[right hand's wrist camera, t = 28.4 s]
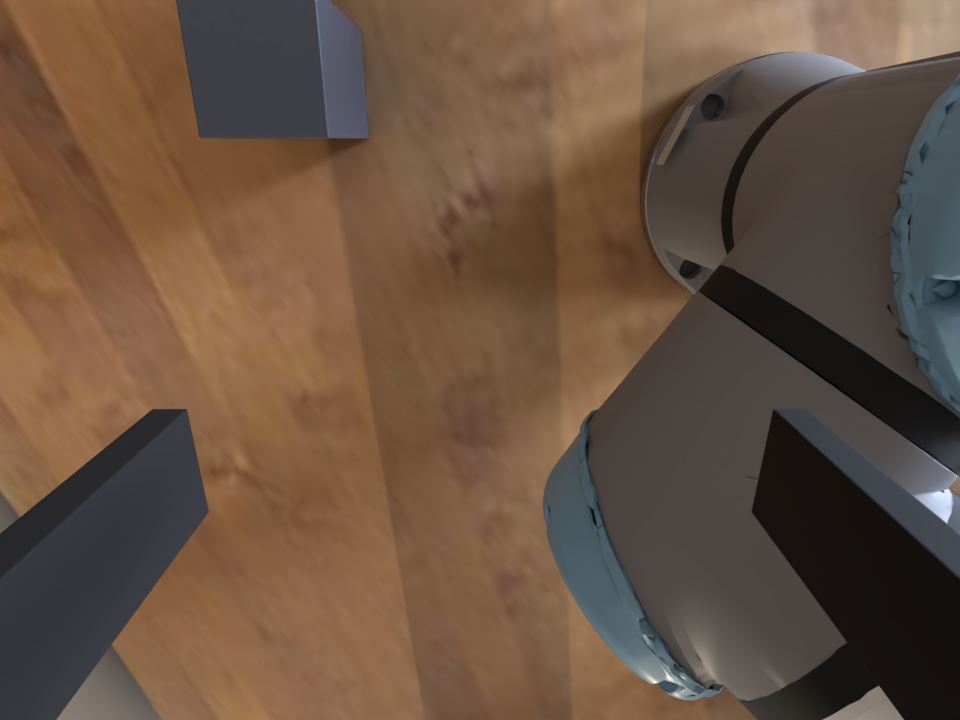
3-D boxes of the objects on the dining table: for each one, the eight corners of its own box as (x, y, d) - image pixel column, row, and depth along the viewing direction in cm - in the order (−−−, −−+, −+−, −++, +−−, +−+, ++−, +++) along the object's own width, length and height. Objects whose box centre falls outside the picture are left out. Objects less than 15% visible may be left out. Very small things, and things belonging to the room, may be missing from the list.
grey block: (361, 29, 33) (315, -15, 24) (369, 139, 35) (328, 138, 26) (260, 29, 33) (173, -15, 24) (273, 139, 35) (199, 138, 26)
